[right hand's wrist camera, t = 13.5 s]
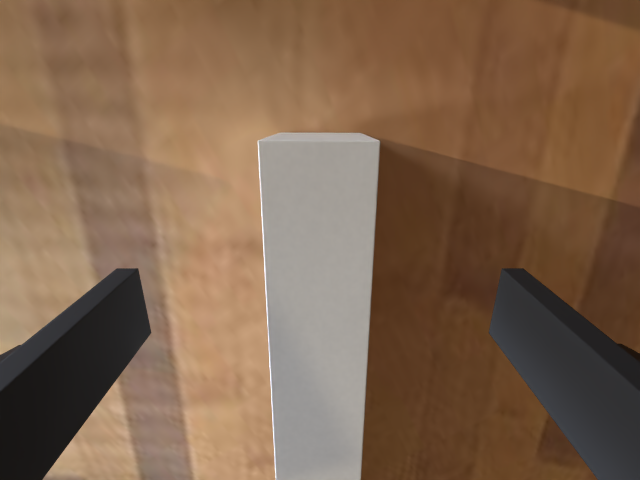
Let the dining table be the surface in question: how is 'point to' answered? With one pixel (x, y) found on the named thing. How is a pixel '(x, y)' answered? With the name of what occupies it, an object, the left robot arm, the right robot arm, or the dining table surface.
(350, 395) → the bar
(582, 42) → the dining table surface
